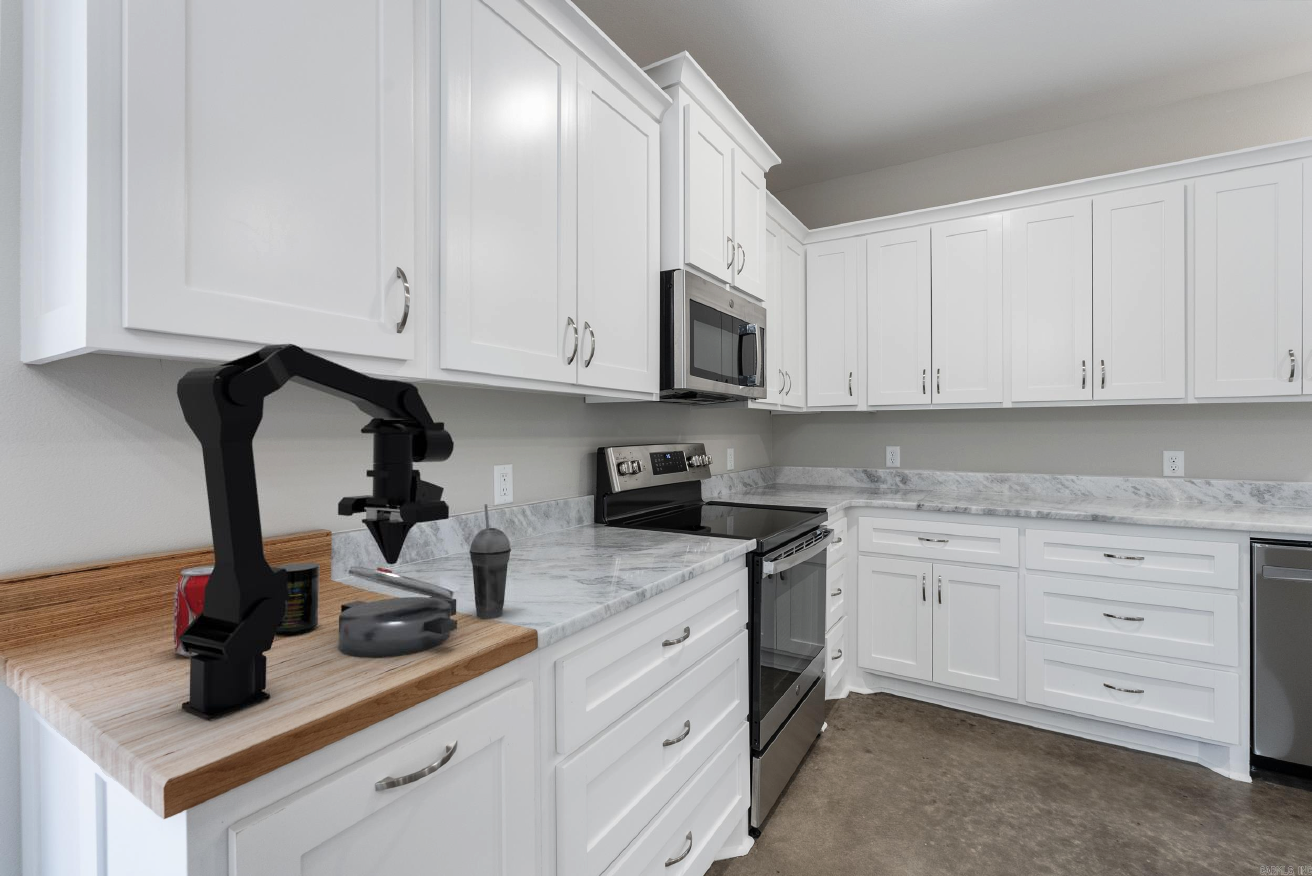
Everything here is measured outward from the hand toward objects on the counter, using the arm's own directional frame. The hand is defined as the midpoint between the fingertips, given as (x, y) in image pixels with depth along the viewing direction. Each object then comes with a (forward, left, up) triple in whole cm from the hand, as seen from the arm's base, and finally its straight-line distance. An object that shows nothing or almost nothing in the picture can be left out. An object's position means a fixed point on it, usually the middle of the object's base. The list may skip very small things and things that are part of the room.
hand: (391, 563), depth 91 cm
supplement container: (-4, +18, -12) cm, 22 cm away
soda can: (-16, +20, -12) cm, 28 cm away
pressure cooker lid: (+2, 0, -4) cm, 4 cm away
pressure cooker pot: (+1, 0, -12) cm, 12 cm away
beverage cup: (+18, -3, -12) cm, 22 cm away
